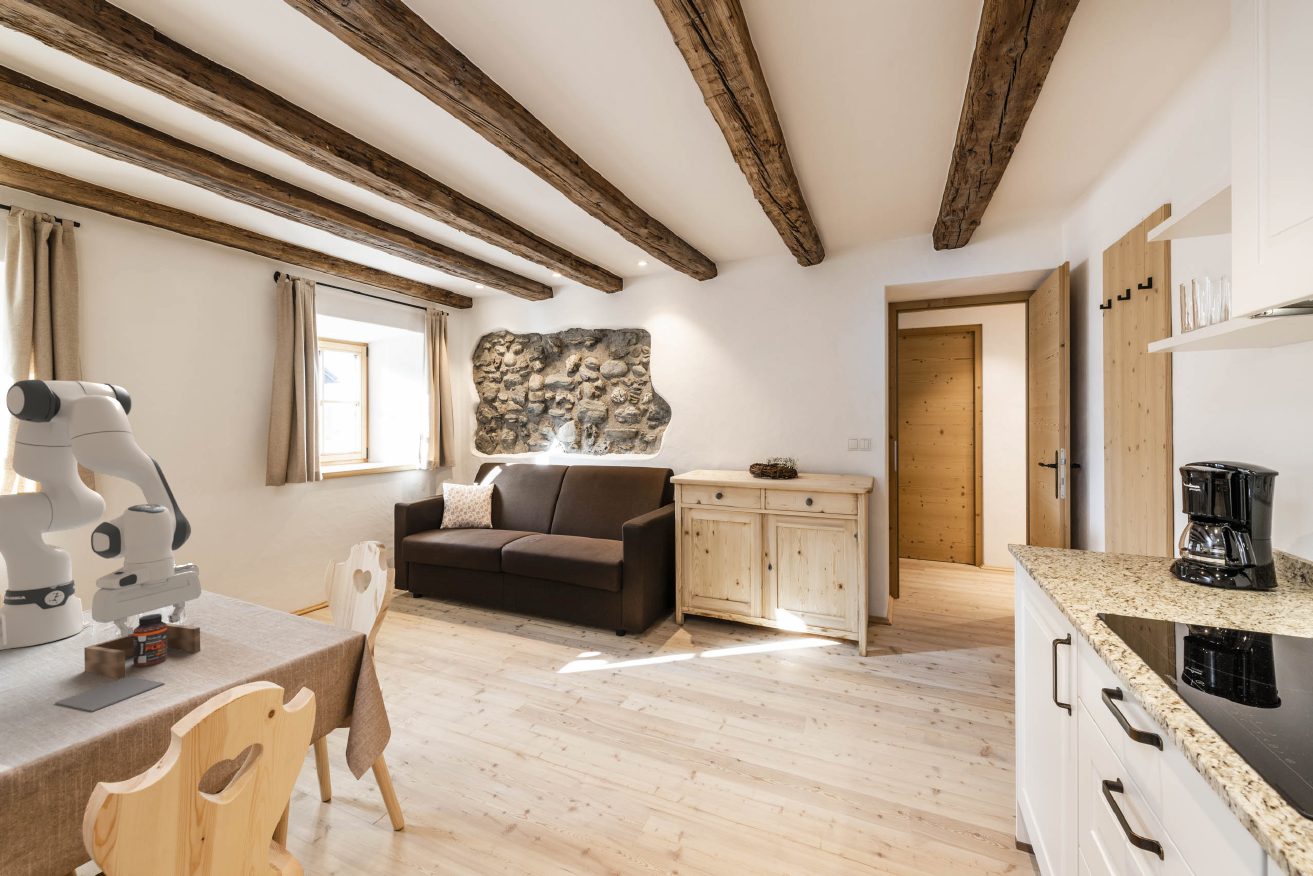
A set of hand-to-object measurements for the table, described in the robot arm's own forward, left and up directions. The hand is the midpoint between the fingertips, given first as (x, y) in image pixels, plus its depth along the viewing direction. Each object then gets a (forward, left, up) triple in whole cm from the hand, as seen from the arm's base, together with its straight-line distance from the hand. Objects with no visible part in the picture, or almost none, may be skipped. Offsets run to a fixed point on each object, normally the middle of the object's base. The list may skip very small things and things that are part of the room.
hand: (151, 628), depth 127 cm
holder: (-2, 0, -8) cm, 8 cm away
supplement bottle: (-1, 0, -9) cm, 9 cm away
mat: (+10, -13, -8) cm, 19 cm away
